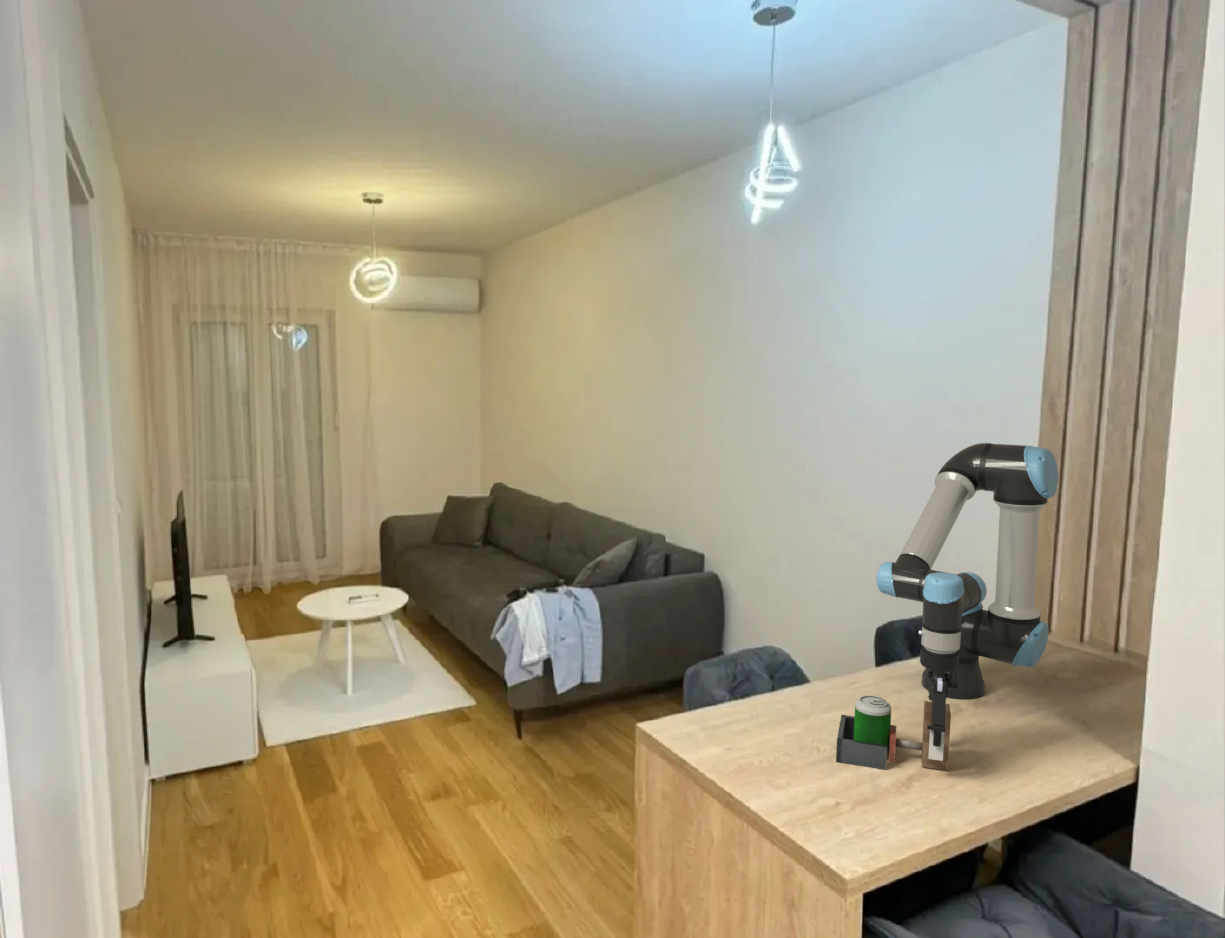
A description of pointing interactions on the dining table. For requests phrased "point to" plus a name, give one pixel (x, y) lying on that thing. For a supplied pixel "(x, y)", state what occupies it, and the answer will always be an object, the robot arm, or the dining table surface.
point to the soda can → (872, 720)
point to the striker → (924, 740)
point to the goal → (858, 748)
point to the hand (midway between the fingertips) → (934, 744)
